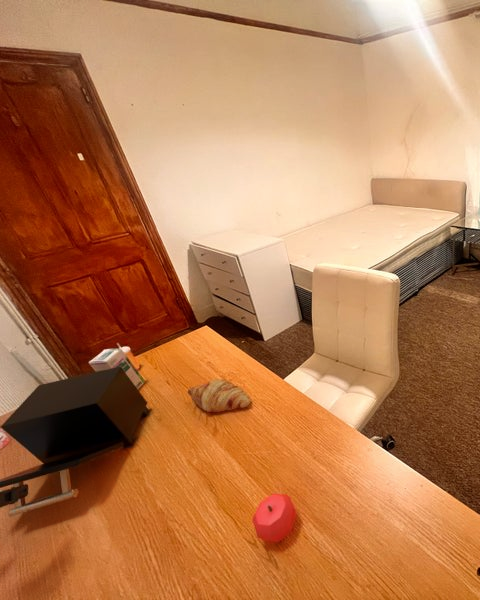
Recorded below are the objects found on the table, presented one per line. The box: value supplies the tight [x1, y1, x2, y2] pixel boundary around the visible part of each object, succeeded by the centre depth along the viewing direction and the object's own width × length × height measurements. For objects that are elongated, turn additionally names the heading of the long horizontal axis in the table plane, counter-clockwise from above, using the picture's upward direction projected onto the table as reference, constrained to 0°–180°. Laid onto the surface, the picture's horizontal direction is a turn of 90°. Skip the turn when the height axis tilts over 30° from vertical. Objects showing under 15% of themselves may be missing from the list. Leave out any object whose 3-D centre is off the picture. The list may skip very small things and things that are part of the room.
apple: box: [252, 493, 297, 544], centre depth 60 cm, size 8×8×8 cm
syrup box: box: [88, 348, 146, 390], centre depth 95 cm, size 6×6×14 cm
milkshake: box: [116, 342, 141, 371], centre depth 104 cm, size 4×5×10 cm
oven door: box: [0, 442, 124, 517], centre depth 69 cm, size 8×17×14 cm
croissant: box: [187, 378, 251, 413], centre depth 90 cm, size 21×10×8 cm, turn 77°
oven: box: [0, 366, 150, 464], centre depth 79 cm, size 13×18×17 cm
